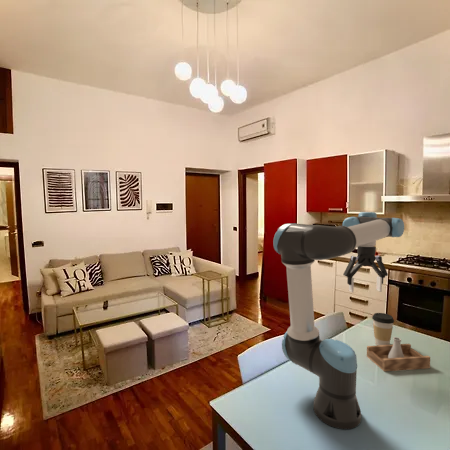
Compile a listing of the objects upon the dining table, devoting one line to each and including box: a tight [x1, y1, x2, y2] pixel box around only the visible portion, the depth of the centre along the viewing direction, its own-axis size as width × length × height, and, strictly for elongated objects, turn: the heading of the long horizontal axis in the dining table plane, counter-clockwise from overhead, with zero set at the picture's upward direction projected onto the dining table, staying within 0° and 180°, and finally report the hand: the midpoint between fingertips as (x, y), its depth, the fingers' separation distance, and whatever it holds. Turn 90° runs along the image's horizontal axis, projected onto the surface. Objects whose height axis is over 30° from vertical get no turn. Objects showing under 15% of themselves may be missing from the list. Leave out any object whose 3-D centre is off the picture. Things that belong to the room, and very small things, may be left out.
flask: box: [388, 336, 404, 358], centre depth 129 cm, size 7×7×10 cm
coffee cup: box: [371, 312, 395, 346], centre depth 145 cm, size 10×10×15 cm
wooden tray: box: [366, 343, 431, 372], centre depth 129 cm, size 21×12×5 cm, turn 96°
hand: (365, 291), depth 132 cm, fingers open, 13 cm apart
